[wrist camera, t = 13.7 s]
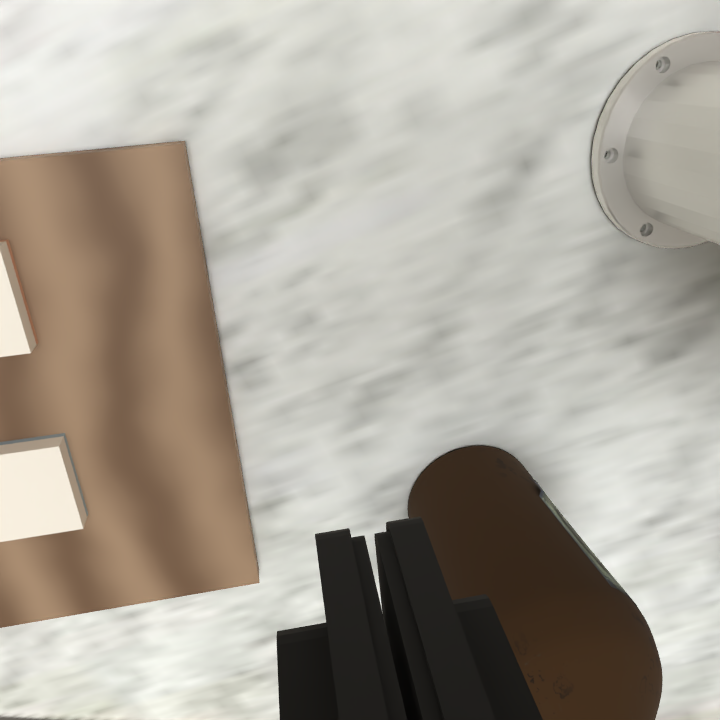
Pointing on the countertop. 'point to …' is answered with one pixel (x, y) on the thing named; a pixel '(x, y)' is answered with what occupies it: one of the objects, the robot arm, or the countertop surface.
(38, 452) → the tile
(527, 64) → the countertop surface
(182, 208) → the board
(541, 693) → the olive oil
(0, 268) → the tile
